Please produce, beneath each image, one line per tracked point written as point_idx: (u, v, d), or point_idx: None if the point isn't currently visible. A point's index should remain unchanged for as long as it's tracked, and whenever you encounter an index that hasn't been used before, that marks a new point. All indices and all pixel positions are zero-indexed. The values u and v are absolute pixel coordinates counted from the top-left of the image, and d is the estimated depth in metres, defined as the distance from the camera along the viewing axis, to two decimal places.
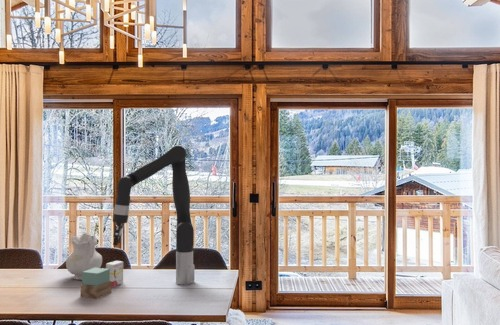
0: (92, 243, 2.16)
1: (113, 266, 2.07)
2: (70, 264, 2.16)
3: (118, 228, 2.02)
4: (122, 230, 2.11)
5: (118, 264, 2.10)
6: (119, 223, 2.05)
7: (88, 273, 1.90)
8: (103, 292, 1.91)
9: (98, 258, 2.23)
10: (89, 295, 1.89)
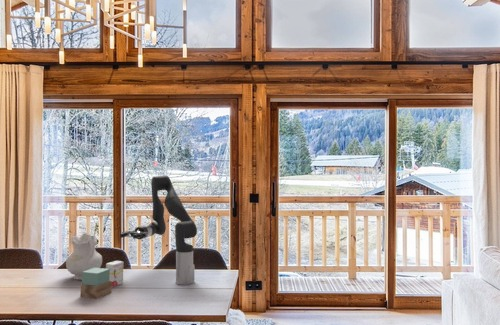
0: (92, 243, 2.16)
1: (113, 266, 2.07)
2: (70, 264, 2.16)
3: None
4: (138, 231, 2.27)
5: (118, 264, 2.10)
6: None
7: (88, 273, 1.90)
8: (103, 292, 1.91)
9: (98, 258, 2.23)
10: (89, 295, 1.89)
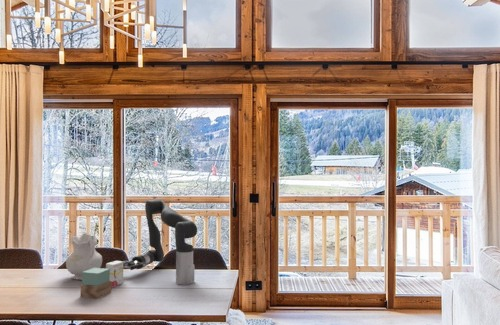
0: (92, 243, 2.16)
1: (113, 266, 2.07)
2: (70, 264, 2.16)
3: None
4: (135, 262, 2.25)
5: (118, 264, 2.10)
6: None
7: (88, 273, 1.89)
8: (103, 292, 1.91)
9: (98, 258, 2.23)
10: (89, 295, 1.89)
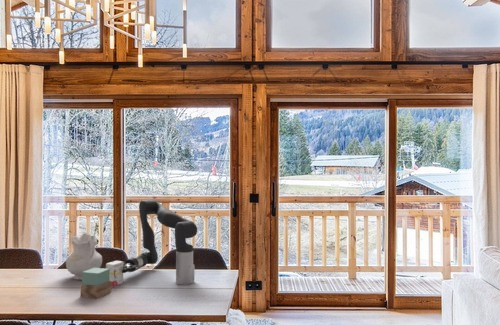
0: (92, 243, 2.16)
1: (113, 266, 2.07)
2: (70, 264, 2.16)
3: None
4: (127, 265, 2.18)
5: (118, 264, 2.10)
6: None
7: (88, 273, 1.89)
8: (103, 292, 1.91)
9: (98, 258, 2.23)
10: (89, 295, 1.89)
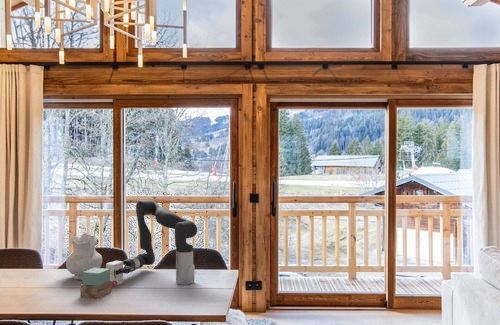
0: (92, 243, 2.16)
1: (113, 266, 2.07)
2: (70, 264, 2.16)
3: None
4: (123, 266, 2.14)
5: (118, 264, 2.10)
6: None
7: (89, 273, 1.89)
8: (103, 292, 1.91)
9: (98, 258, 2.23)
10: (89, 295, 1.88)
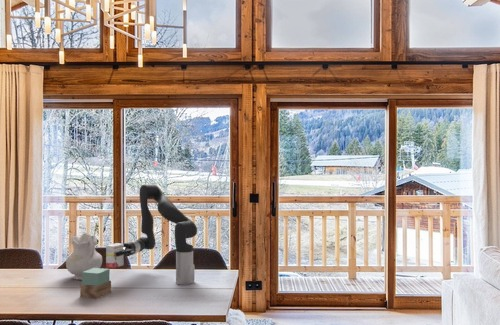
0: (92, 243, 2.16)
1: (113, 248, 2.07)
2: (70, 264, 2.16)
3: None
4: None
5: (118, 246, 2.10)
6: None
7: (88, 273, 1.89)
8: (103, 292, 1.91)
9: (98, 258, 2.23)
10: (89, 295, 1.89)
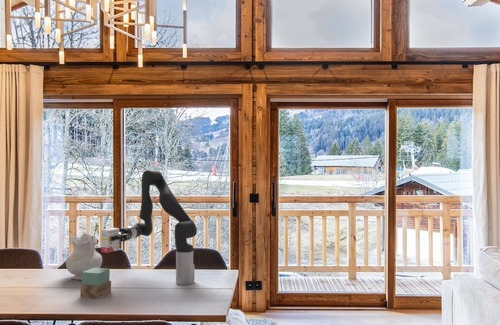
0: (92, 243, 2.16)
1: (108, 232, 2.03)
2: (70, 264, 2.16)
3: None
4: (119, 233, 2.10)
5: (114, 230, 2.06)
6: None
7: (88, 273, 1.90)
8: (103, 292, 1.91)
9: (98, 258, 2.23)
10: (89, 295, 1.89)
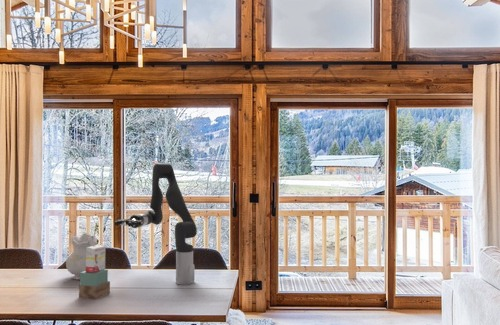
0: (92, 243, 2.16)
1: (94, 250, 1.89)
2: (70, 264, 2.16)
3: None
4: (133, 219, 2.19)
5: (100, 248, 1.93)
6: None
7: (86, 274, 1.88)
8: (102, 293, 1.90)
9: None
10: (87, 296, 1.87)
